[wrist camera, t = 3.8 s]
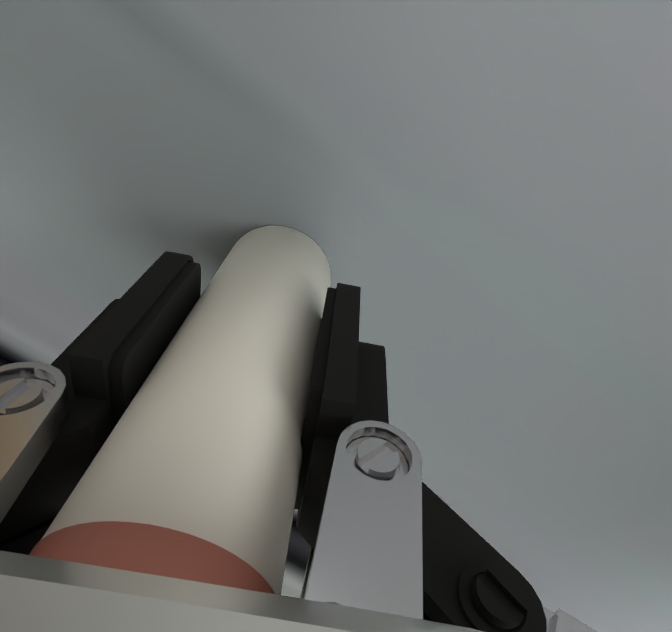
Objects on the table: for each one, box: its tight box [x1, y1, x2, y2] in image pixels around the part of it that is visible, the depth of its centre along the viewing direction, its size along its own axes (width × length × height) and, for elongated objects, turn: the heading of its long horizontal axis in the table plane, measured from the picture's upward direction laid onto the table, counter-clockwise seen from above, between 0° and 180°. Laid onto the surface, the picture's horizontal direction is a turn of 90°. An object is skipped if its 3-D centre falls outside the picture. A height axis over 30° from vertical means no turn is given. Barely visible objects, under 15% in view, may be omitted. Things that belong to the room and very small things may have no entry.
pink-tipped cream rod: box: [29, 226, 331, 595], centre depth 9 cm, size 3×3×10 cm
